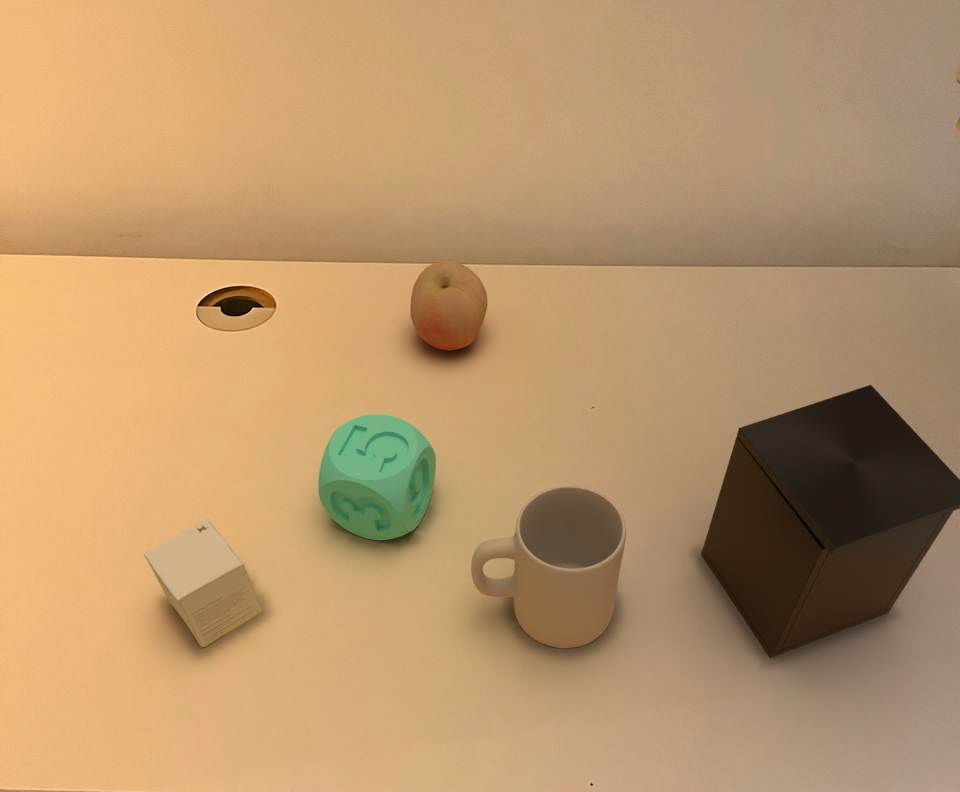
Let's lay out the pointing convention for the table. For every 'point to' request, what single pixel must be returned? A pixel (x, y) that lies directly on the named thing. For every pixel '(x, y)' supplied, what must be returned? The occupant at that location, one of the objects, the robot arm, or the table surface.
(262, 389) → the table surface
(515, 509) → the table surface
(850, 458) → the lid
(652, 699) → the table surface
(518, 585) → the mug
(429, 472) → the decorative dice
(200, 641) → the product box
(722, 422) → the table surface
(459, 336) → the fruit
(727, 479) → the dark wooden storage box
